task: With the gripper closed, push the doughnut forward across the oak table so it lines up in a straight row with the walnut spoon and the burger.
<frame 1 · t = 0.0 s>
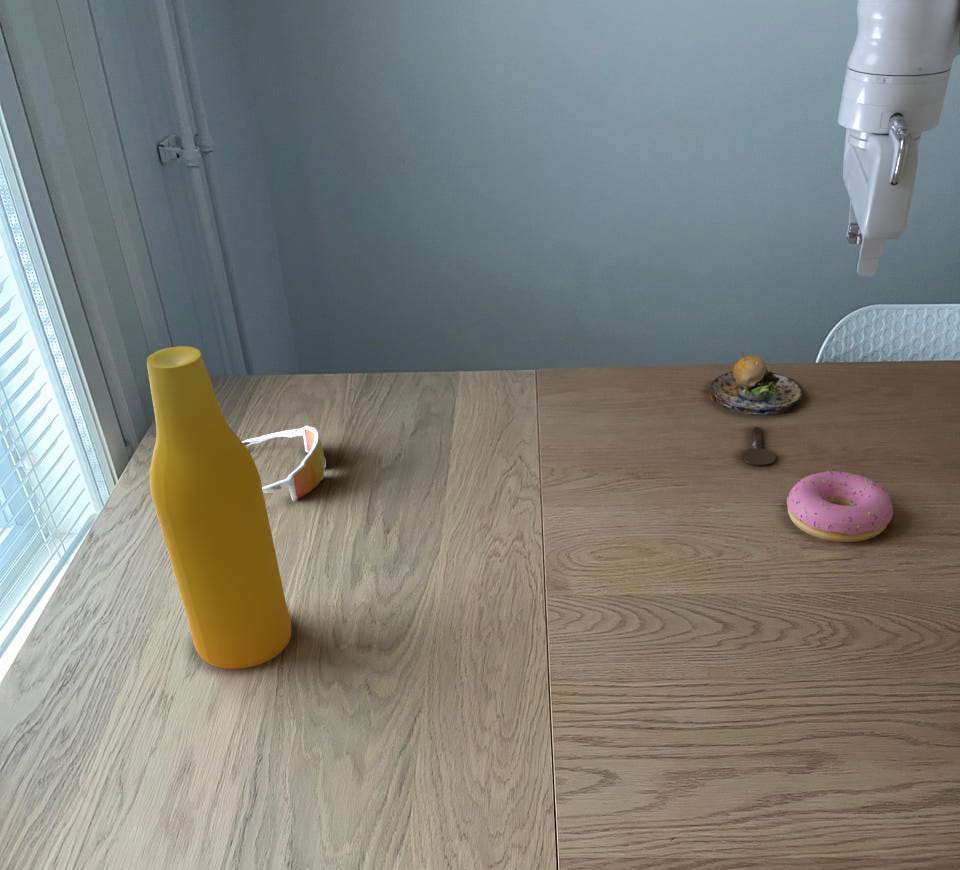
hand: (860, 257, 98), 25 cm above the table, tool pointing down, fingers open, 8 cm apart
sunglasses: (267, 482, 119), on the table
beer bottle: (246, 645, 95), on the table
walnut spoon: (756, 453, 119), on the table
burger: (753, 401, 130), on the table
doughnut: (835, 523, 107), on the table
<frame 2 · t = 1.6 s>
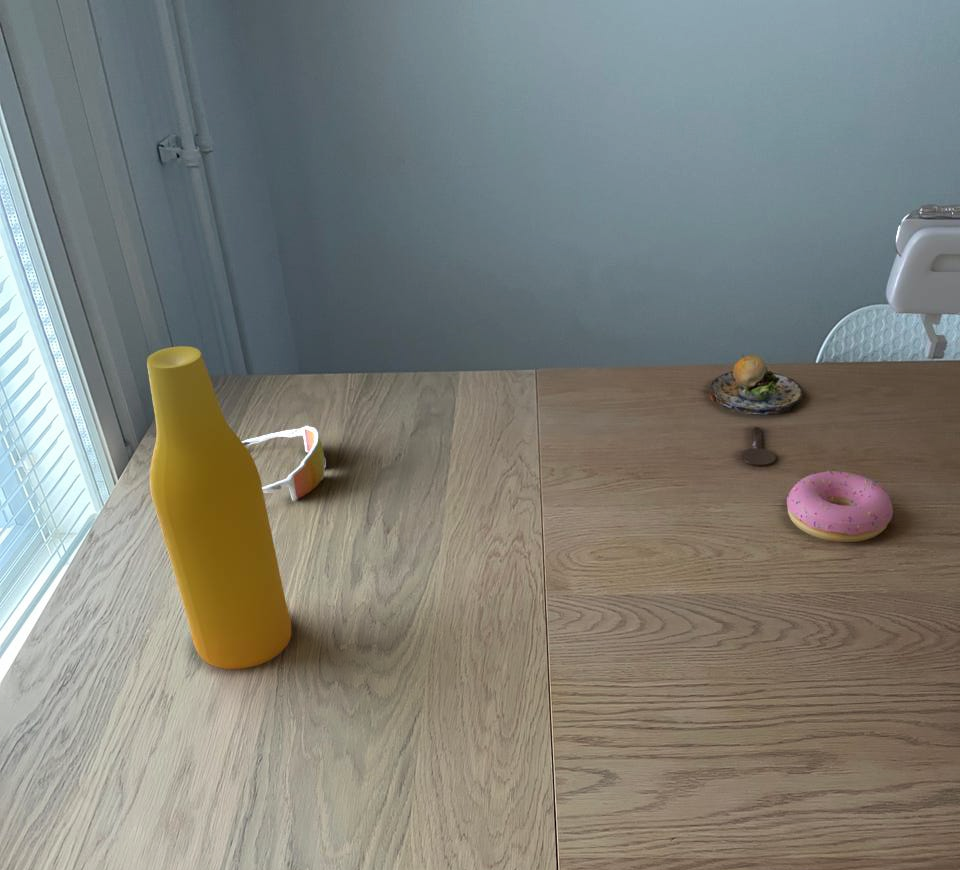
nothing on the table moved.
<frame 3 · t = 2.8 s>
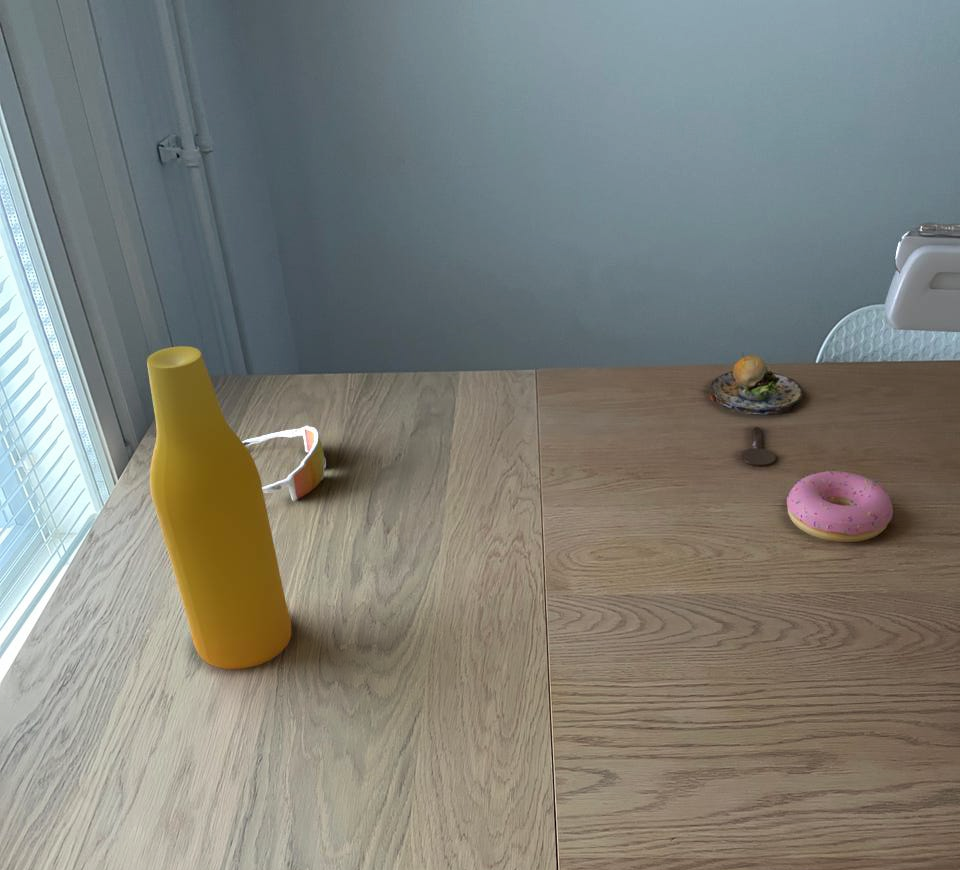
nothing on the table moved.
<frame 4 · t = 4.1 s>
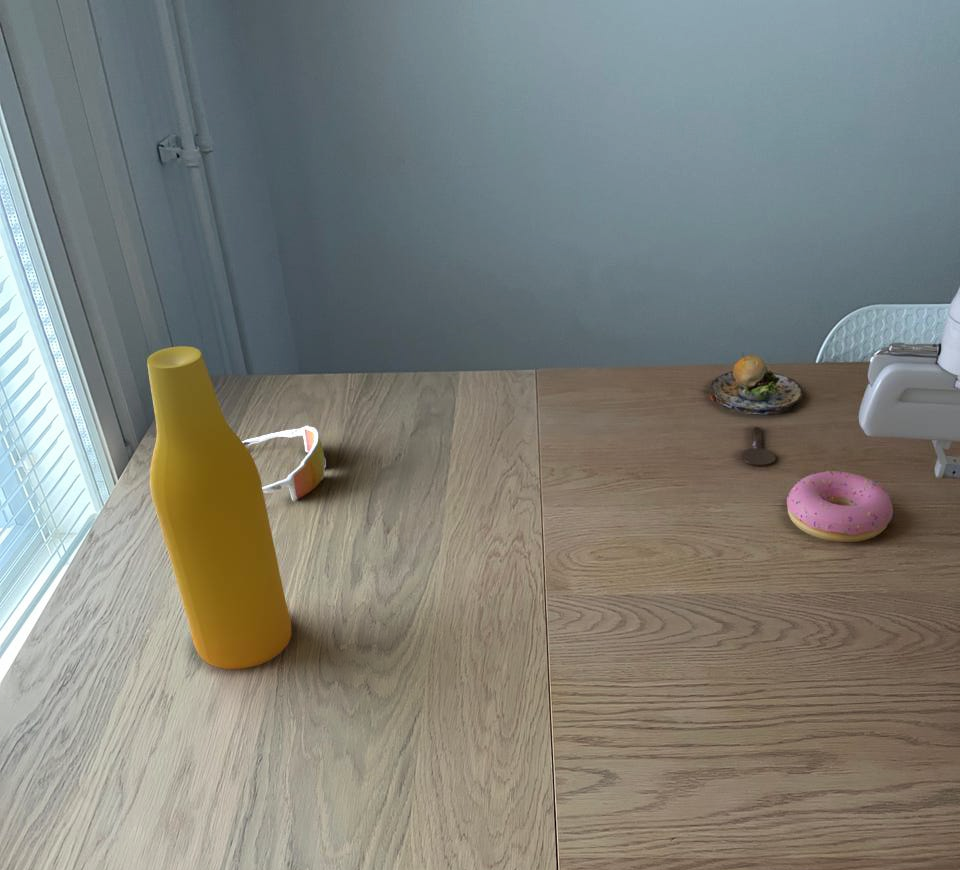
hand: (950, 475, 101), 6 cm above the table, tool pointing down, fingers closed
nothing on the table moved.
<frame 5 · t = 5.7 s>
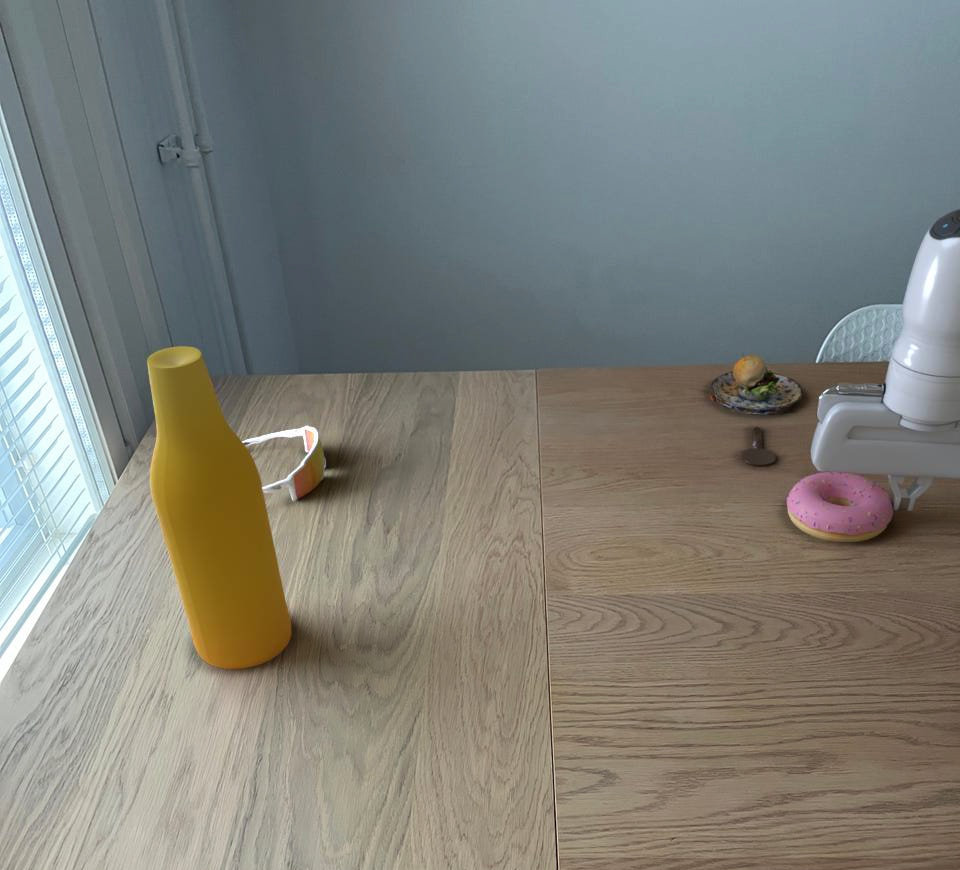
hand: (900, 507, 104), 2 cm above the table, tool pointing down, fingers closed
doughnut: (835, 523, 107), on the table, touching gripper
everything else where it was.
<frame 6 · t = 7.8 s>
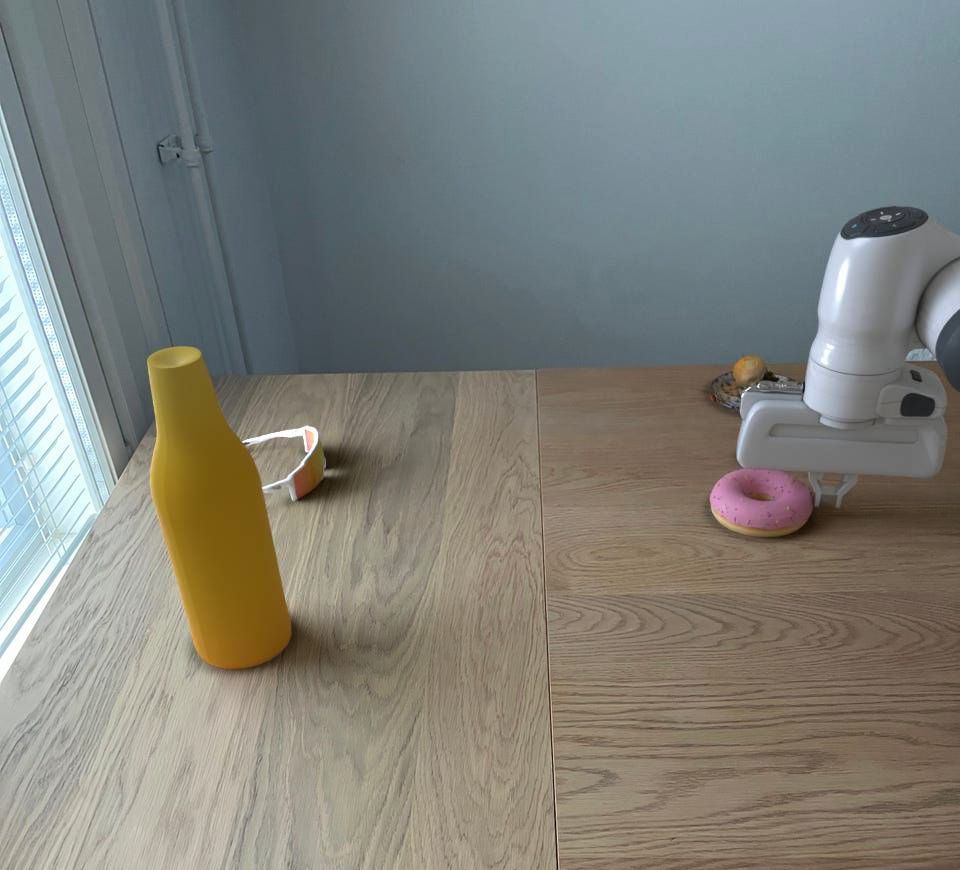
hand: (825, 504, 106), 2 cm above the table, tool pointing down, fingers closed
doughnut: (757, 519, 108), on the table, touching gripper
everything else where it was.
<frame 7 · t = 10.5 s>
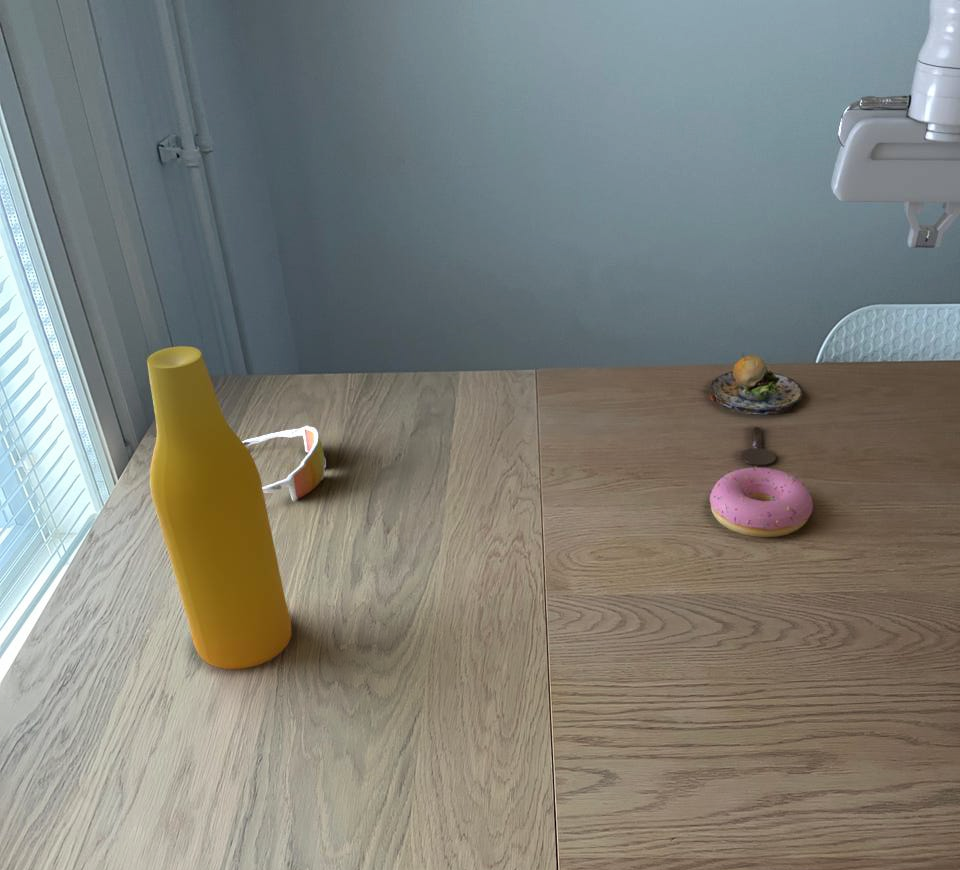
hand: (922, 246, 101), 25 cm above the table, tool pointing down, fingers closed
doughnut: (758, 519, 108), on the table
everything else where it was.
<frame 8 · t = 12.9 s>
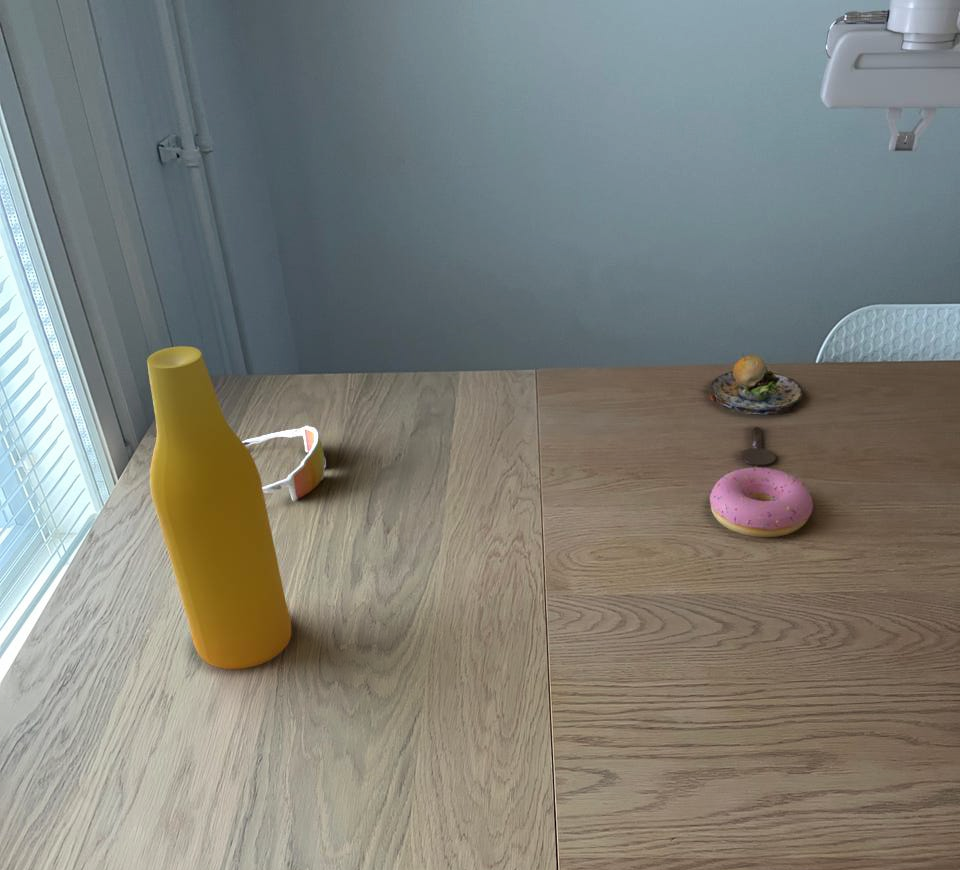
hand: (902, 150, 114), 29 cm above the table, tool pointing down, fingers closed
nothing on the table moved.
at the end: doughnut inside the target area on the table beside the burger (0.9 cm from its centre), on the table; burger moved 0.2 cm from its start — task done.
